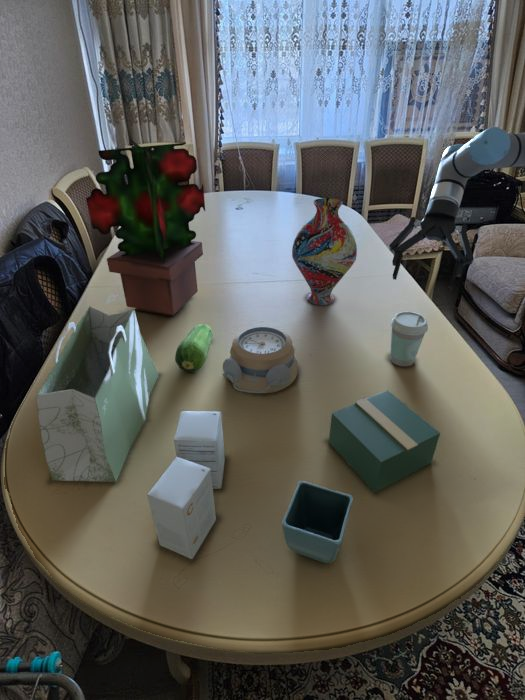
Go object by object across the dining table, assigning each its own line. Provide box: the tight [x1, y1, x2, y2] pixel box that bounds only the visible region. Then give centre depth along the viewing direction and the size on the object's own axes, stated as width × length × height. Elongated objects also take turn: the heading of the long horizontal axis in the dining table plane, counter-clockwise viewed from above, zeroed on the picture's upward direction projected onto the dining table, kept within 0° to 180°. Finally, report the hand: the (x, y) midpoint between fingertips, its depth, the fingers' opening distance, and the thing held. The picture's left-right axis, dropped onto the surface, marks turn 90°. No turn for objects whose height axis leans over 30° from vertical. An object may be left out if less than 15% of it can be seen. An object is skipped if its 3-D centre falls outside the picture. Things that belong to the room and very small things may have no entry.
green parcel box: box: [328, 389, 441, 493], centre depth 86 cm, size 14×14×8 cm
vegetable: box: [174, 323, 214, 372], centre depth 114 cm, size 7×7×20 cm
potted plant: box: [85, 139, 206, 317], centre depth 125 cm, size 22×22×45 cm
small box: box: [146, 456, 217, 560], centre depth 70 cm, size 8×6×13 cm
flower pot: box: [281, 480, 354, 564], centre depth 69 cm, size 9×9×9 cm
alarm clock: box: [222, 326, 299, 394], centre depth 105 cm, size 17×9×23 cm
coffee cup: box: [389, 310, 429, 367], centre depth 110 cm, size 9×8×12 cm
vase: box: [291, 197, 358, 306], centre depth 132 cm, size 19×19×30 cm
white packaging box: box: [173, 410, 226, 490], centre depth 80 cm, size 7×7×13 cm
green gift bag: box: [36, 305, 160, 483], centre depth 89 cm, size 32×14×23 cm, turn 178°
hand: (421, 282), depth 112 cm, fingers open, 13 cm apart
